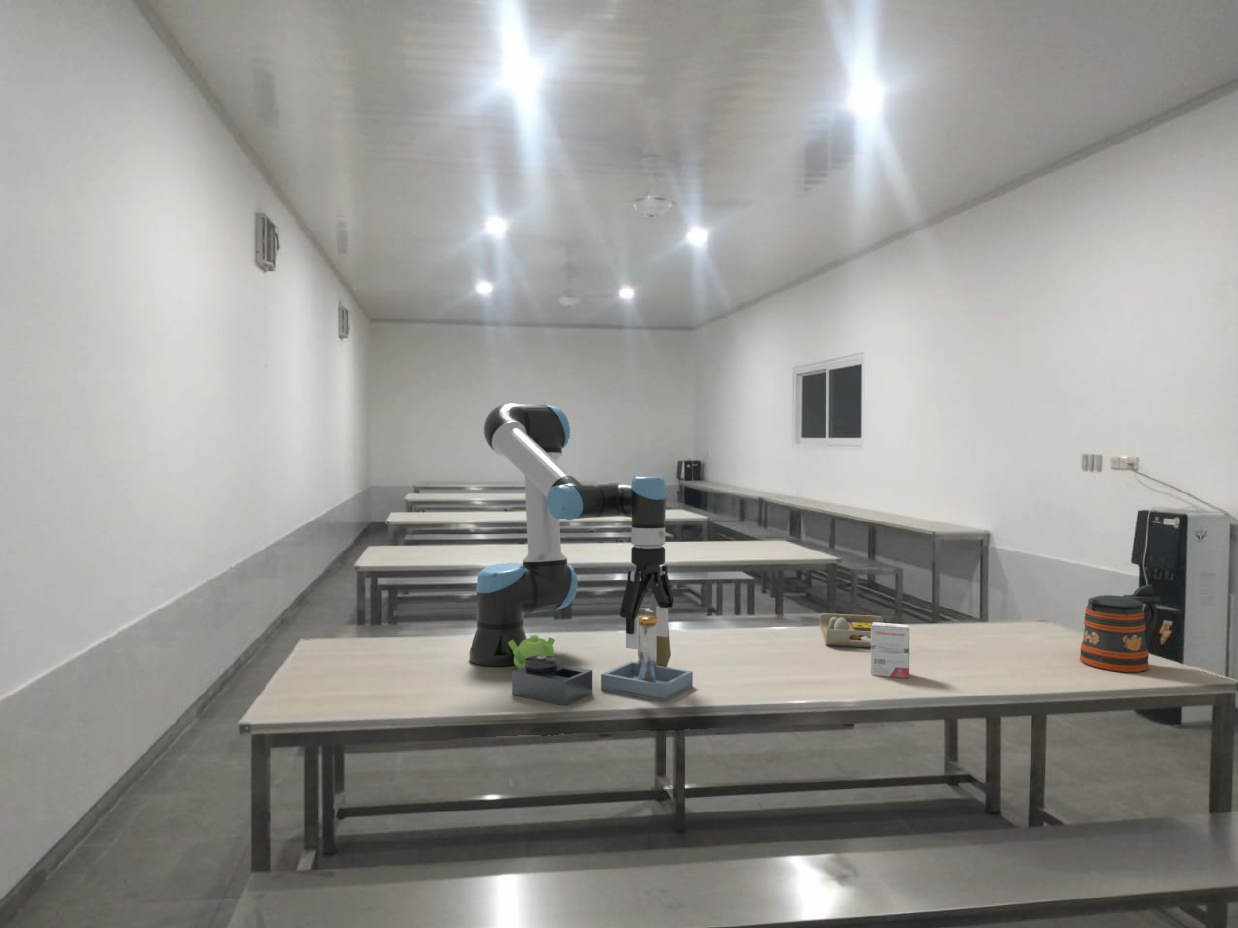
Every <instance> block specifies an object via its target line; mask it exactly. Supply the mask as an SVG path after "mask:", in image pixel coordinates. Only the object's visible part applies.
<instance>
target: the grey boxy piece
mask: <svg viewBox="0 0 1238 928" xmlns="http://www.w3.org/2000/svg"><path fill="white" fill-rule="evenodd" d="M511 676H512V677H511V681H512V682H511V684H512V685H511V686H512V687H511V689H512V690H511V691H512V692H511V695H513V696H514V695H515V696H519V697H523V698H528V699H534V700H536V701H542V702H547V703H550V704H557V705H562V706H568V705H570V704H572V703H574V702H577V701H579V700H581V699H582V698H585V697H588V696H589V695H592V694H593V669H588V668H582V667H576V666H571V665H565V664H561V663H560V664H559V663H558V657H556V656H554V657H553V656H547V655H537V656H531V657H528V658H526V659H525V667H522V668H520V669H518V668H517V669H514V670H512V672H511Z"/></svg>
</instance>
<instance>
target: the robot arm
mask: <svg viewBox="0 0 1238 928" xmlns="http://www.w3.org/2000/svg"><path fill="white" fill-rule="evenodd" d="M483 435H484V436H483V437H484V438H485V439H484V440H485V441H486V443H487V444H488V446H489V447H490V448H491V450H493V452H495V454H496V455H498V456H500V457H505V458H506V459H508V460H509V462H511V463H512V464H513V465H514V466H515V467H516V468H517V469H518V470H519V472H521V473H522V475H524V491H525V493H524V494H525V496H524V497H525V514H526V516H525V517H526V534H527V535H526V536H527V537H526V538H527V554H526V556H524V558H523V559H522V563H519V562H518V563H517V562H508V563H498V564H492V565H490V566H486V567H484V568H483V569H481V570H480V571H479V572H478V574H477V579H476V580H477V581H476V589H475V590H476V630H475V633H474V637H473V639H472V644H471V647H470V649H469V661H470V662H471V663H473V664H475V665H479V666H483V667H484V666H487V667H508V666H509V667H510V666H516V665H515V664H514V653H513V650H512V649H511V647H510V646H509V644H508V642H510V641H511V640H514V642H515V643H516V644H517V646H519V645H520V643H521V642H522V641H523V640H525V639H528V638H527V634H526V632H525V627H524V626H525V625H524V624H525V623H524V615H528V614H533V613H534V614H535V613H540V612H546V611H551V612H552V611H556V610H559V609H564V608H566V607H568V606H570V604H571V603H572V601H573V600H575V597H576V595H577V591H578V577H577V576H578V575H577V573H576V572H575V568H574V567H573V566H572V565H571V564H569V563H568V557H567V556H566V555H565V554H563V552H562V551H561V550H562V548H561V547H562V546H561V529H560V528H561V525H560V520H566V521H573V520H574V521H575V520H579V519H580V520H581V519H598V518H614V517H615V518H616V517H618V518H619V517H621V518H631V535H630V536H631V539H630V543H631V545H632V548H631V550H630V551H631V554H630V555H631V557H630V560H631V563H632V565H635V567H636V568H635V571H633V570H629V571H628V572H627V578H626V579H627V581H626V586H625V590H624V593H623V594H624V595H623V597H622V598H623V599H622V601H621V607H620V610H619V616H620V617H621V618H622V619H625V648H627V649H629V650H630V649H631V650H637V651H638V642H639V619H638V618H637V617H638V614H639V611H640V608H641V607H642V606H641V605H642V603H643V600H644V599H645V595H646V593H648V592H649V590H651V592H652V593H653V594H654V597H655V599H656V601H657V603H658V606H660V607H656V617H658V623H657V636H662V637H668V628H669V608H670V609H673V606H674V601H675V600H674V597H673V596H674V595H673V592H672V588H671V583H670V579H669V575H668V565H667V564H665V563H666V548H665V547H664V546H665V544H666V536H667V533H666V515H667V514H666V509H667V506H666V504H667V497H668V496H667V491H666V480H665V478H663V477H662V476H644V475H643V476H641V475H640V476H634V477H633V478H632V479H631V484H625V483H619V482H608V483H602V484H601V483H600V484H598V483H597V484H596V483H595V484H583V483H581V482H580V481H579V480H578V479H576V478H575V477H574V476H573V475H572V474H571V473H569V471H568V470H566V469H565V468H564V467H563V466H562V464H560V463H559V462H558V460H559V458H560V457H561V456H562V455H563V454H562V453H563V452H562V449H564V448H565V447H566V446H567V445H568V443H569V439H570V437H571V428H570V422H569V420H568V417H567V415H566V414H565V413H564V412H563V410H562V409H560V408H559V407H557V406H554V405H549V404H533V403H532V404H531V403H527V404H526V403H503V404H500V405H499V406H496V407H495V408H493V410H491V411H490V413H489V414H488V415H487V417H486V418H485V421H484V425H483ZM653 594H652V595H653Z"/></svg>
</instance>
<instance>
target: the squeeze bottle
mask: <svg viewBox="0 0 1238 928" xmlns="http://www.w3.org/2000/svg"><path fill="white" fill-rule="evenodd" d="M650 599H651V601H650V605H649V608H646V609H644V616H656V607H660V606H658V603H657V601H656V599H655V597H654V594H652V595H651V598H650ZM669 628H670V627H668V637H662V636H657V638H656V665H657V666H663V667H668V664H669V661H670V659H671V656H672V653H671V643H670V630H669Z"/></svg>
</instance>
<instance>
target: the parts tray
mask: <svg viewBox="0 0 1238 928" xmlns="http://www.w3.org/2000/svg"><path fill="white" fill-rule="evenodd" d="M693 674H694V672H693V671H691V670H686V669H679V668H674V667H668V666H667V667H663V666H657V665H656V683H655V682H649V681H644V680H638V661H633V660H631V661H629V662H626V663H624V664H621V665H619V666H617V667H615V668H613V669H609V670H608V671H605V672H603V673H601V674H600V689H601V690H604V691H608V692H613V693H618V694H624V695H630V696H635V697H640V698H645V699H648V700H649V699H650V700H655V701H660V702H667V701H669V700H671V699H673V698H674V697H676V696H678V695H680V694H681V693H684V692H685V691H687V690H689V689H690V688H692V687H694V686H693V682H694V679H693V677H694V676H693Z"/></svg>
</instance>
